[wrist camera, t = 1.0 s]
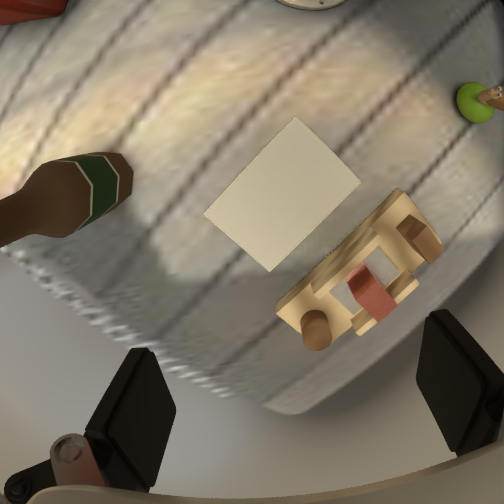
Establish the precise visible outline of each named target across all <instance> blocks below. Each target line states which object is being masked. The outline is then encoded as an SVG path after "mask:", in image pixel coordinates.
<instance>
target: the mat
mask: <svg viewBox="0 0 504 504" xmlns="http://www.w3.org/2000/svg"><path fill="white" fill-rule="evenodd" d="M360 183H361V181H360V180H359V179H358V178H357V177H356V176H355V174H354V173H353V172H352V171H351V170H350V169H349V168H348V167H347V166H346V165H345V164H344V163H343V162H342V161H341V160H340V159H339V158H338V157H337V155H336V154H335V153H334V152H333V151H332V150H331V149H330V148H329V147H328V146H327V145H326V144H325V143H324V142H323V141H322V140H321V139H320V138H319V137H318V136H317V135H316V134H315V133H313V132H312V131H311V130H310V129H309V128H308V127H307V126H306V125H305V124H304V123H303V122H302V121H301V120H300V119H299V118H298V117H297V116H295V117H294V118H293V119H292V120H291V121H290V122H289V123H288V124H287V125H286V126H285V127H284V128H283V129H282V130H281V131H280V132H279V133H278V134H277V135H276V136H275V137H274V138H273V139H272V140H271V141H270V142H269V143H268V145H267V146H266V147H265V148H264V149H263V150H262V151H261V152H260V153H259V154H258V155H257V156H256V157H255V158H254V159H253V160H252V161H251V162H250V163H249V165H248V166H247V167H246V168H245V169H244V170H243V171H242V172H241V173H240V174H239V175H238V176H237V177H236V179H235V180H234V181H233V182H232V183H231V184H230V185H229V186H228V187H227V188H226V189H225V191H224V192H223V193H222V194H221V195H220V196H219V197H218V198H217V199H216V201H215V202H214V203H213V204H212V205H211V206H210V207H209V208H208V209H207V211H206V212H205V213H204V215H205V216H206V217H207V218H208V219H209V220H210V221H212V222H213V223H214V224H215V225H216V226H217V227H218V228H220V229H221V230H222V231H223V232H224V233H225V234H226V235H228V236H229V237H230V238H231V239H232V240H233V241H234V242H236V243H237V244H238V245H239V246H240V247H241V248H243V249H244V250H245V251H246V252H247V253H248V254H249V255H251V256H252V257H253V258H254V259H255V260H256V261H257V262H259V263H260V264H261V265H262V266H263V267H264V268H266V269H267V270H268V271H269V272H270V271H271V270H272V269H273V268H275V267H276V266H277V265H278V264H279V263H280V262H281V261H282V260H283V259H284V258H285V257H286V256H287V255H288V254H289V253H290V252H291V251H292V250H293V249H294V248H295V247H296V246H297V245H298V244H299V243H300V242H302V241H303V240H304V239H305V238H306V237H307V236H308V235H309V234H310V233H311V232H312V231H313V230H314V229H315V228H316V227H317V226H318V225H319V224H320V223H321V222H322V221H323V220H324V219H325V218H326V217H327V216H328V215H329V214H330V213H331V212H332V211H333V210H334V209H335V208H336V207H337V206H338V205H339V204H340V203H341V202H342V201H343V200H344V199H345V198H346V197H347V196H348V195H349V194H350V193H351V192H352V191H353V190H354V189H355V188H356V187H357V186H358V185H359V184H360Z"/></svg>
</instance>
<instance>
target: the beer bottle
mask: <svg viewBox="0 0 504 504" xmlns="http://www.w3.org/2000/svg"><path fill="white" fill-rule="evenodd" d="M132 173H133V171H132V170H131V169H130V167H129V166H128V164H127V163H126V162H125V160H124V159H123V157H122V156H121V155H120V154H116V153H104V152H95V153H88V154H83V155H77V156H72V157H67V158H62V159H57V160H53V161H50V162H47V163H44V164H42V165H41V166H39V167H38V168H37V169H36V170H35V171H34V172H33V173H32V175H31V176H30V177H29V179H28V180H27V182H26V183H25V184H24V186H23V187H22V188H21V189H20V190H19V191H17V192H16V193H14V194H12V195H10V196H8V197H6V198H3V199H1V200H0V248H1V247H3V246H5V245H7V244H9V243H12V242H14V241H16V240H18V239H21V238H23V237H25V236H27V235H31V234H39V235H44V236H48V237H55V238H64V237H66V236H68V235H70V234H72V233H74V232H76V231H78V230H79V229H81V228H83V227H84V226H86V225H88V224H89V223H91V222H93V221H94V220H96V219H98V218H100V217H101V216H103V215H105V214H107V213H108V212H110V211H111V210H113V209H114V208H116V207H117V206H118V205H119V204H120V203H121V202H122V201H123V200H125V199H126V198H127V197H128V196H129V195H130V194H131V185H132Z"/></svg>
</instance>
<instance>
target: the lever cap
mask: <svg viewBox="0 0 504 504" xmlns="http://www.w3.org/2000/svg"><path fill="white" fill-rule="evenodd" d="M399 274H400V272H399V271H398V270H397V269H396V268H395V266H394V265H393V264H392V263H391V262H390V261H389V259H388V258H387V257H386V256H385V255H384V254H383V253H382V251H381V250H380V249H379V248H378V247H376V248H375V249H374V250H373V251H372V252H371V253H370V254H369V255H368V256H367V257H366V258H365V259H364V260H363V261H361V262H360V263H359V264H358V265H357V266H356V267H355V268H354V269H353V270H352V271H351V272H350V273H349V274H347V275H346V276H345V277H344V278H343V279H342V280H341V281H340V282H339V283H338V284H337V285H335V286H334V287H333V288H332V289H331V290H330V291H329V293H330V294H331V295H332V296H333V297H334V298H336V299H337V300H338V301H339V302H340V303H341V304H342V305H343V306H344V307H345V308H346V309H347V310H348V311H349V312H351V313H352V314H353V315H354V314H356V313H357V312H358V311H359V310H360V309H361V308H364V309H365V310H366V311H367V312H368V313H369V314H370V315H371V316H372V317H373V318H374V319H375V320H376V321H377V322H378V323H379V322H380V321H381V320H382V319H383V318H384V317H386V316H387V315H388V314H389V313H390V312H391V311H392V310H394V309H395V308H396V307H397V306H398V304H397V303H396V301H395V300H394V298H393V297H392V295H391V294H390V292H389V291H388V290H387V288H386V286H387V285H388V284H389V283H390V282H391V281H393V280H394V279H395V278H396V277H397V276H398V275H399Z"/></svg>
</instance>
